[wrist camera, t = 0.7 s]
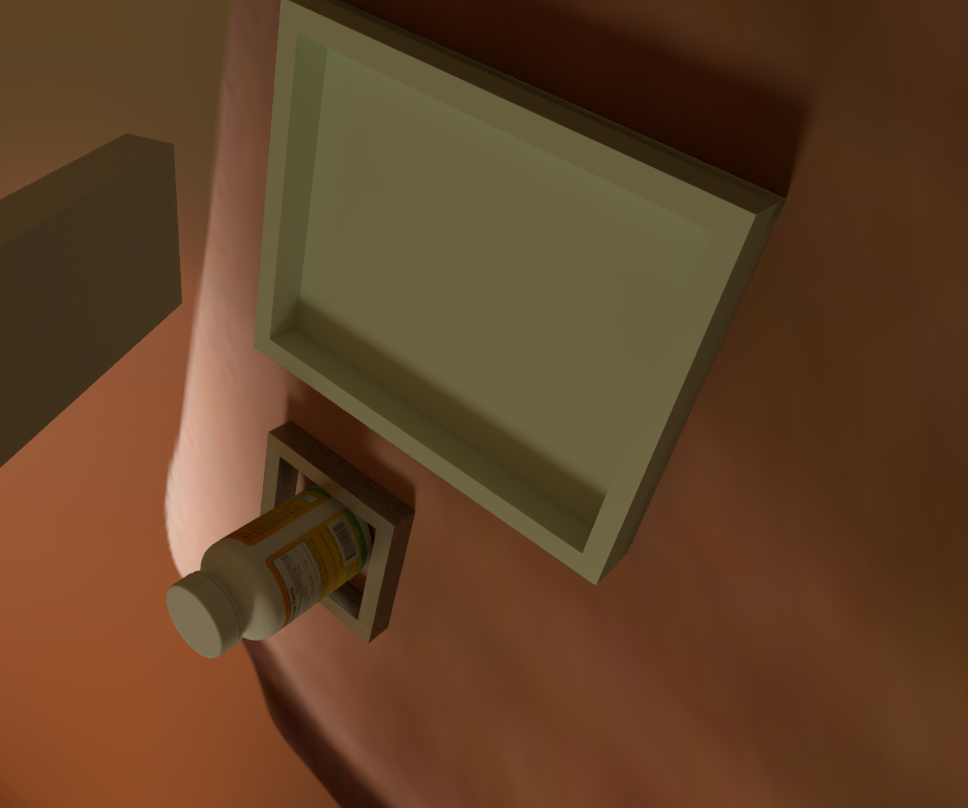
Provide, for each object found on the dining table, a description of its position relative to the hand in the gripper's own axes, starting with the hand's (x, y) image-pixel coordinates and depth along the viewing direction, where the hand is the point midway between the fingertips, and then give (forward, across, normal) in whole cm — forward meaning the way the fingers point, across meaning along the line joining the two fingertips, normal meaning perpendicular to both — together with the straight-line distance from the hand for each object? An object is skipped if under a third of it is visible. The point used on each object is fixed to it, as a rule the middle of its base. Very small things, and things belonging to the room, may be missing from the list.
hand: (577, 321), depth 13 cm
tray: (+20, -4, -10) cm, 23 cm away
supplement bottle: (+22, -10, -28) cm, 37 cm away
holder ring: (+22, -10, -28) cm, 37 cm away
